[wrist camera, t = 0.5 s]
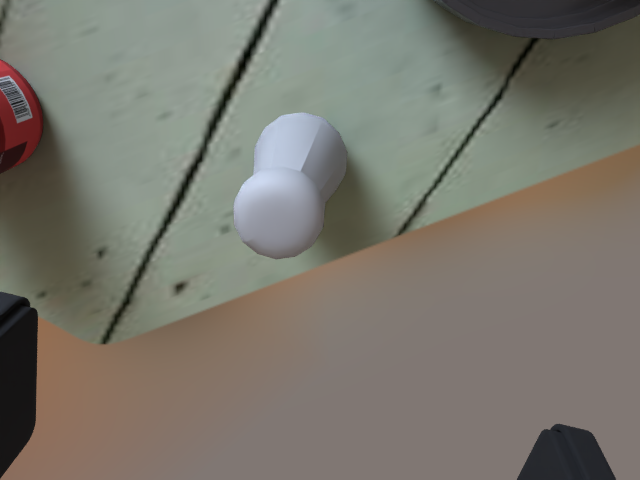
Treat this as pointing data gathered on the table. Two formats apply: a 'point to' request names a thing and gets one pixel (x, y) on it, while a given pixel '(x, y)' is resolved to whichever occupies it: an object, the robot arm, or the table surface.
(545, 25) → the pan
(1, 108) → the canned food
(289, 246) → the salt shaker
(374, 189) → the table surface
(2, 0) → the table surface
